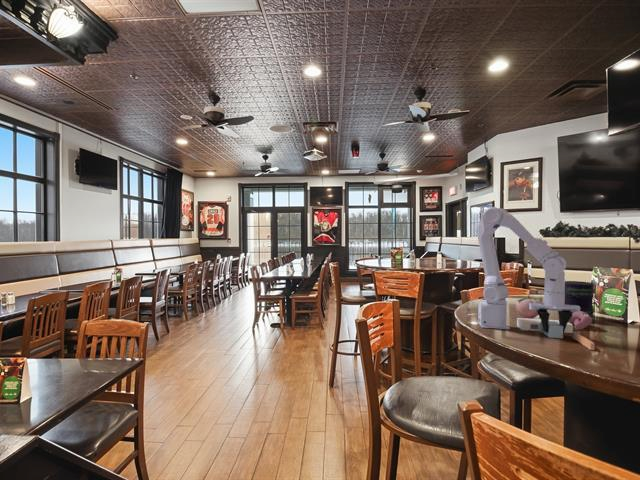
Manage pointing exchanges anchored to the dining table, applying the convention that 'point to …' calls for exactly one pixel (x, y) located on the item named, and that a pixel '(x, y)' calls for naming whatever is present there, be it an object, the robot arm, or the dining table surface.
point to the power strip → (538, 324)
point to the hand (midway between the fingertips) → (553, 332)
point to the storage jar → (580, 295)
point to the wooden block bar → (583, 340)
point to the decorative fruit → (526, 307)
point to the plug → (553, 330)
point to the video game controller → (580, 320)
